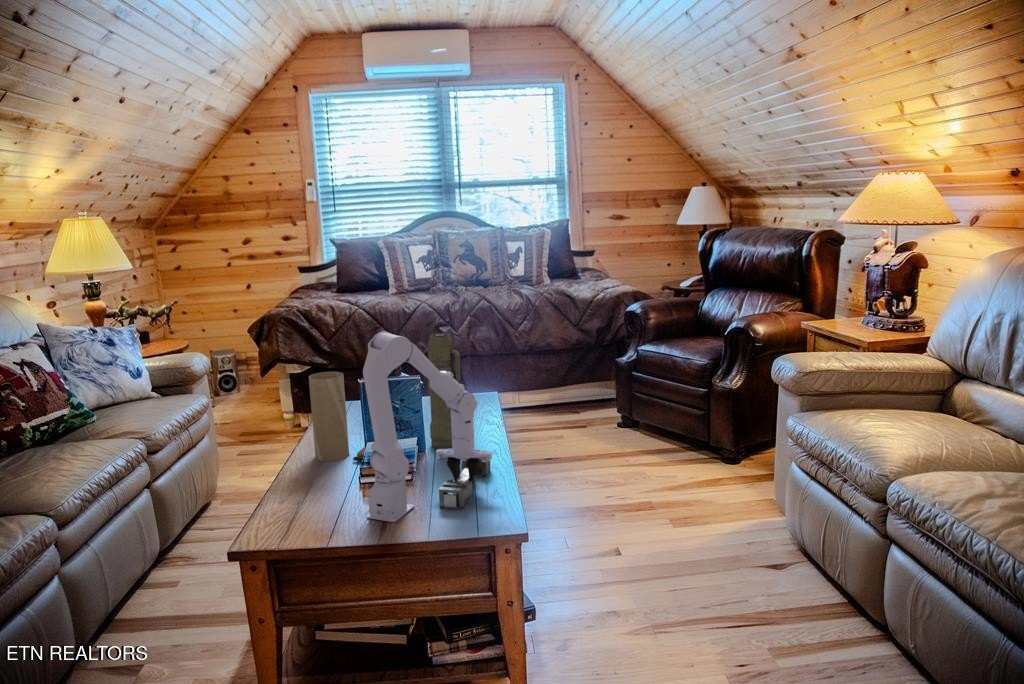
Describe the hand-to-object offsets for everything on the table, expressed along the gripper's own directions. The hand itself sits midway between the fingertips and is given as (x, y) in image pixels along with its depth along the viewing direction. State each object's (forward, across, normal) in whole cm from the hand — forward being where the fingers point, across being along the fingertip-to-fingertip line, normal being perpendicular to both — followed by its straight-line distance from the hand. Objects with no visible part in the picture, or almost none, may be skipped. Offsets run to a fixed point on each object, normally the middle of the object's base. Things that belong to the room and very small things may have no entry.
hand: (465, 485), depth 187 cm
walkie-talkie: (+2, +29, -18) cm, 34 cm away
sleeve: (+1, 0, +8) cm, 8 cm away
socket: (+1, 0, -11) cm, 11 cm away
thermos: (+2, +16, -34) cm, 38 cm away
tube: (+2, +47, -20) cm, 51 cm away
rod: (0, 0, +4) cm, 4 cm away
